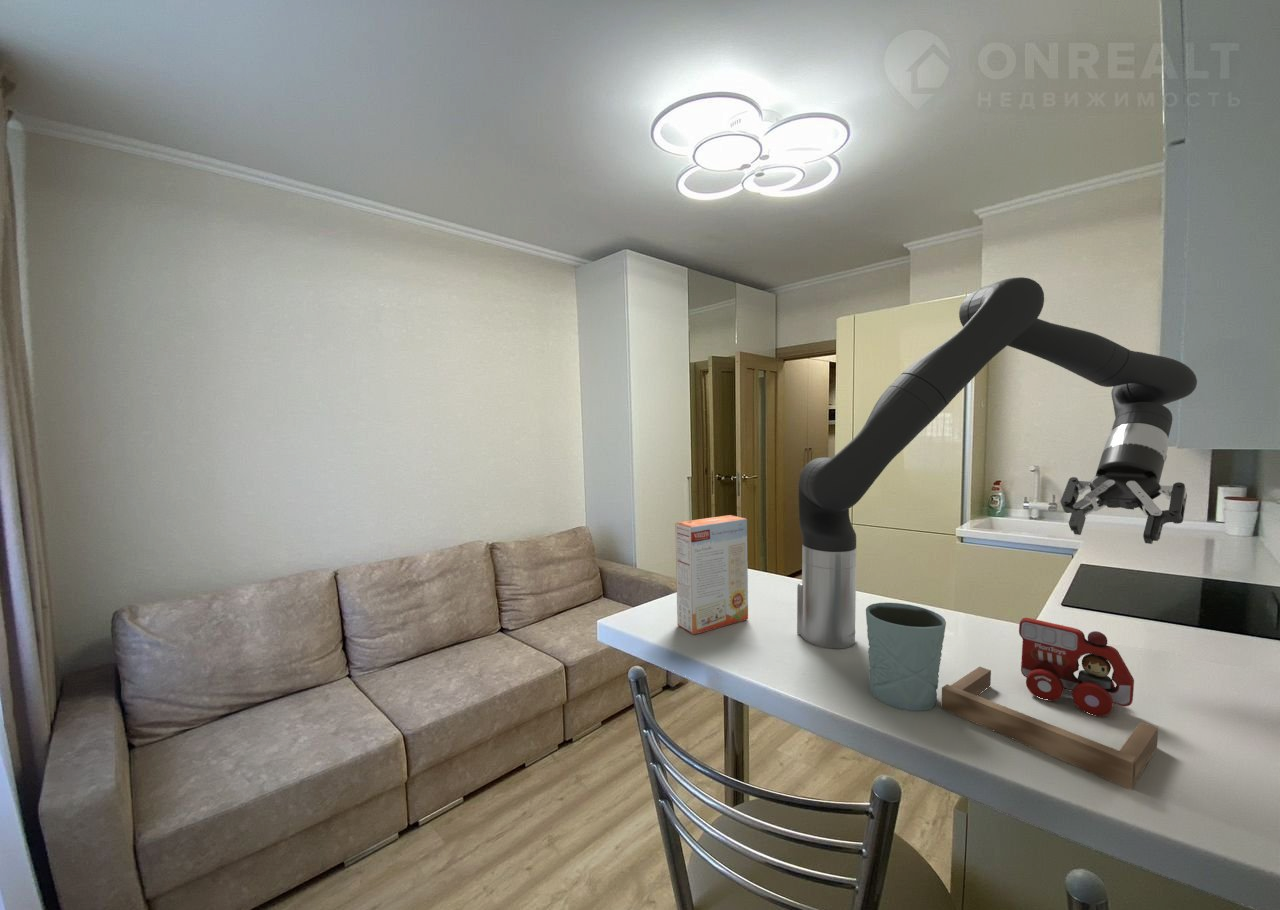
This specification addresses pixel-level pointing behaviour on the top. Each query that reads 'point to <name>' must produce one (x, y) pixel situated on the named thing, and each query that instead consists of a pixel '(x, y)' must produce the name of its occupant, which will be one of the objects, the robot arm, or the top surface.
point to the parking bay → (1051, 733)
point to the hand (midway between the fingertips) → (1110, 536)
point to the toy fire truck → (1073, 666)
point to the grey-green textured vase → (904, 654)
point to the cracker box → (711, 572)
